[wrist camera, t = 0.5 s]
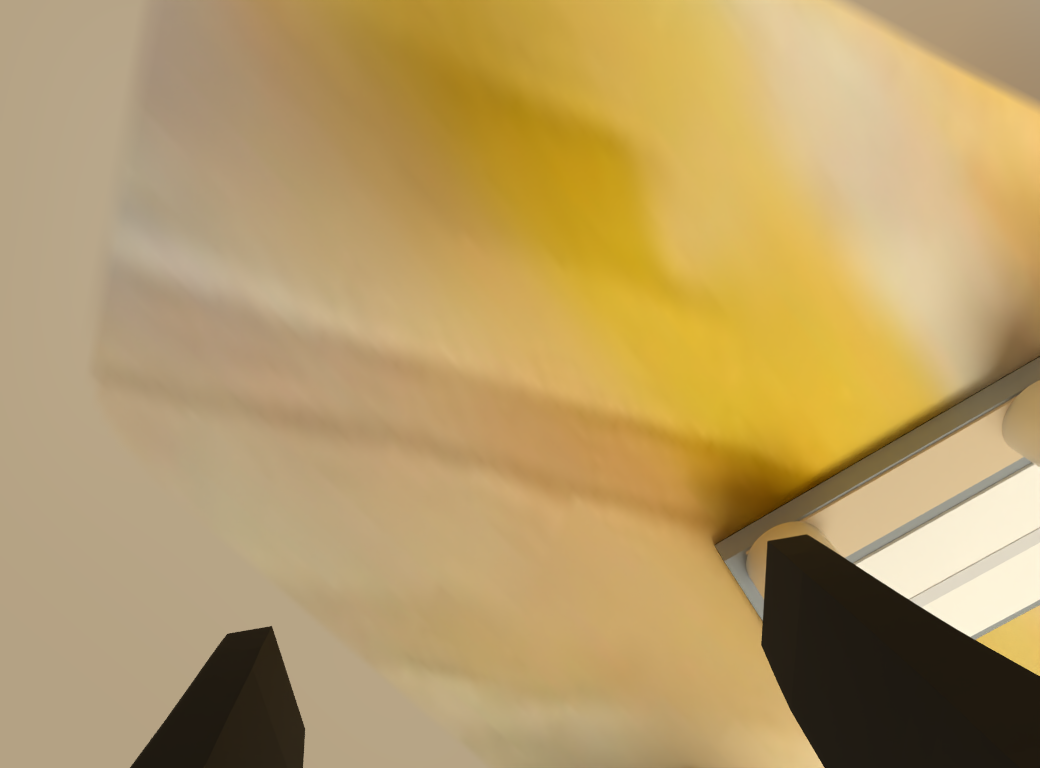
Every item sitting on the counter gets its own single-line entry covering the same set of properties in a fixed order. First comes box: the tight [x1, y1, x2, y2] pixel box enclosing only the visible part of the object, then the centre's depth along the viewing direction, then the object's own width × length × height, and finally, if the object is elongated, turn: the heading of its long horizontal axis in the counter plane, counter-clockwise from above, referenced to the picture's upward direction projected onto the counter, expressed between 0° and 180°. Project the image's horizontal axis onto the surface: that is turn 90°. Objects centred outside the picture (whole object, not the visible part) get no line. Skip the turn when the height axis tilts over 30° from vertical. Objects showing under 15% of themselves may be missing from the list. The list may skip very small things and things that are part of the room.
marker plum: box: [746, 521, 840, 599], centre depth 21 cm, size 3×3×4 cm
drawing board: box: [715, 357, 1040, 640], centre depth 24 cm, size 9×12×1 cm
